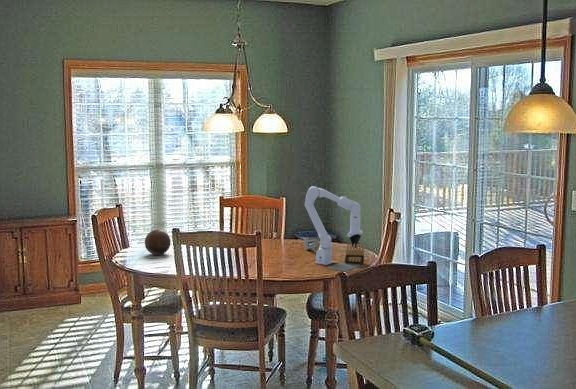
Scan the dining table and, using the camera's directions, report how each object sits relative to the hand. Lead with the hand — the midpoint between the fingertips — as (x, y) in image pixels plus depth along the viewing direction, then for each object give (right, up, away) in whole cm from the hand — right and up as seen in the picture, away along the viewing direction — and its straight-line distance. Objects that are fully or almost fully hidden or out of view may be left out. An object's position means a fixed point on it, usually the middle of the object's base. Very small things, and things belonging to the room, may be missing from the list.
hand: (354, 247), depth 373 cm
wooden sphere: (-115, -6, +20) cm, 117 cm away
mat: (-7, -10, -9) cm, 15 cm away
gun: (-22, -6, +30) cm, 38 cm away
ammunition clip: (0, -9, +1) cm, 9 cm away
